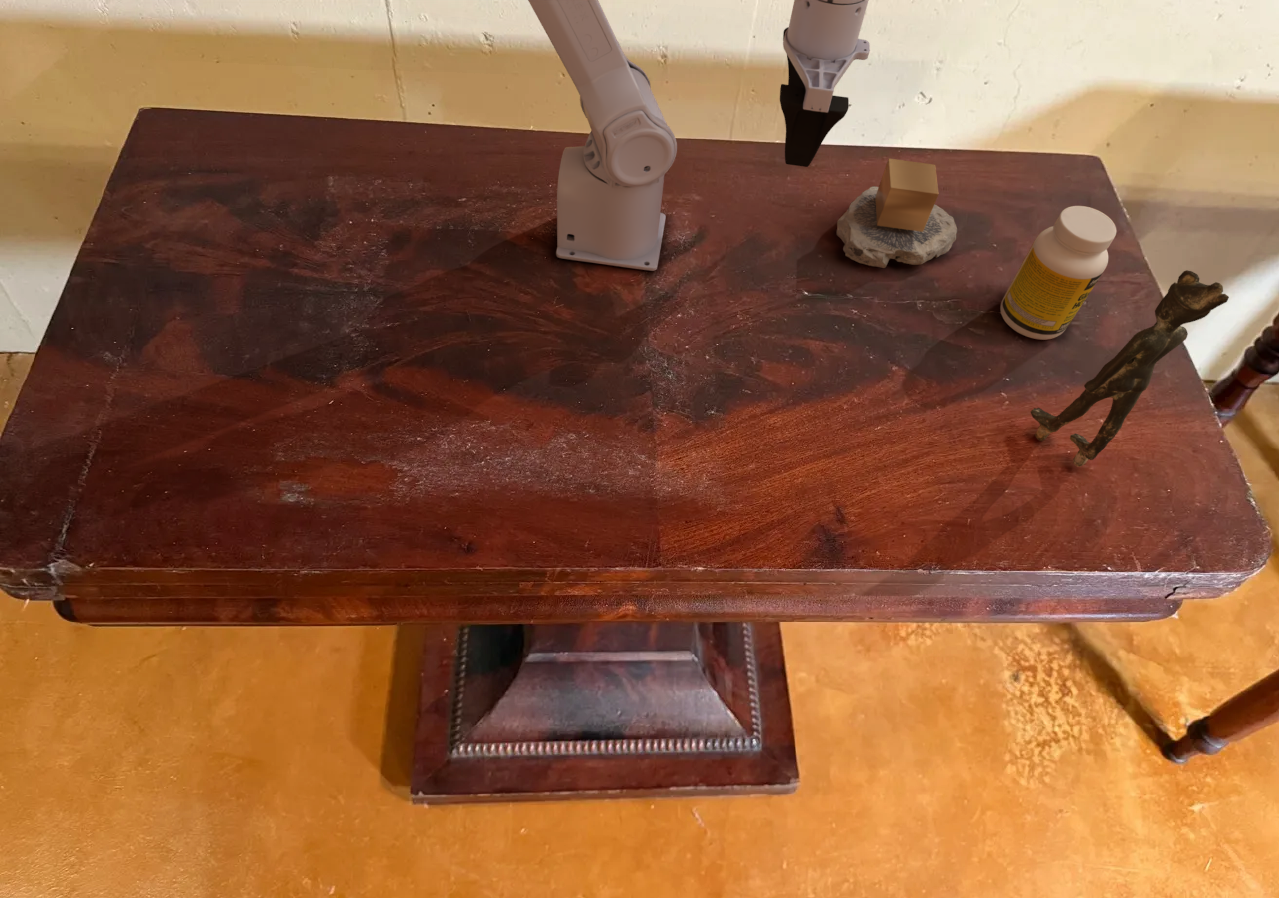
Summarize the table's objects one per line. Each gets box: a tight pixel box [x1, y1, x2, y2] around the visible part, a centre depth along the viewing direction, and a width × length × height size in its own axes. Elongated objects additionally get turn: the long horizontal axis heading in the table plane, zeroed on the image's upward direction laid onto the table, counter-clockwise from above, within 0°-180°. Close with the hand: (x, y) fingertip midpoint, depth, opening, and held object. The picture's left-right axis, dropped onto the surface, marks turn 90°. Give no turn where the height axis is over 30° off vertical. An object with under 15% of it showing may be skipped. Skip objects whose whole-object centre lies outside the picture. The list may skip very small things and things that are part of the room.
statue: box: [1030, 270, 1230, 468], centre depth 65 cm, size 5×6×20 cm
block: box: [875, 157, 940, 232], centre depth 83 cm, size 4×4×4 cm
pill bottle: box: [999, 205, 1117, 341], centre depth 78 cm, size 6×6×11 cm
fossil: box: [836, 185, 958, 269], centre depth 86 cm, size 11×4×10 cm
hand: (797, 137), depth 80 cm, fingers open, 7 cm apart
